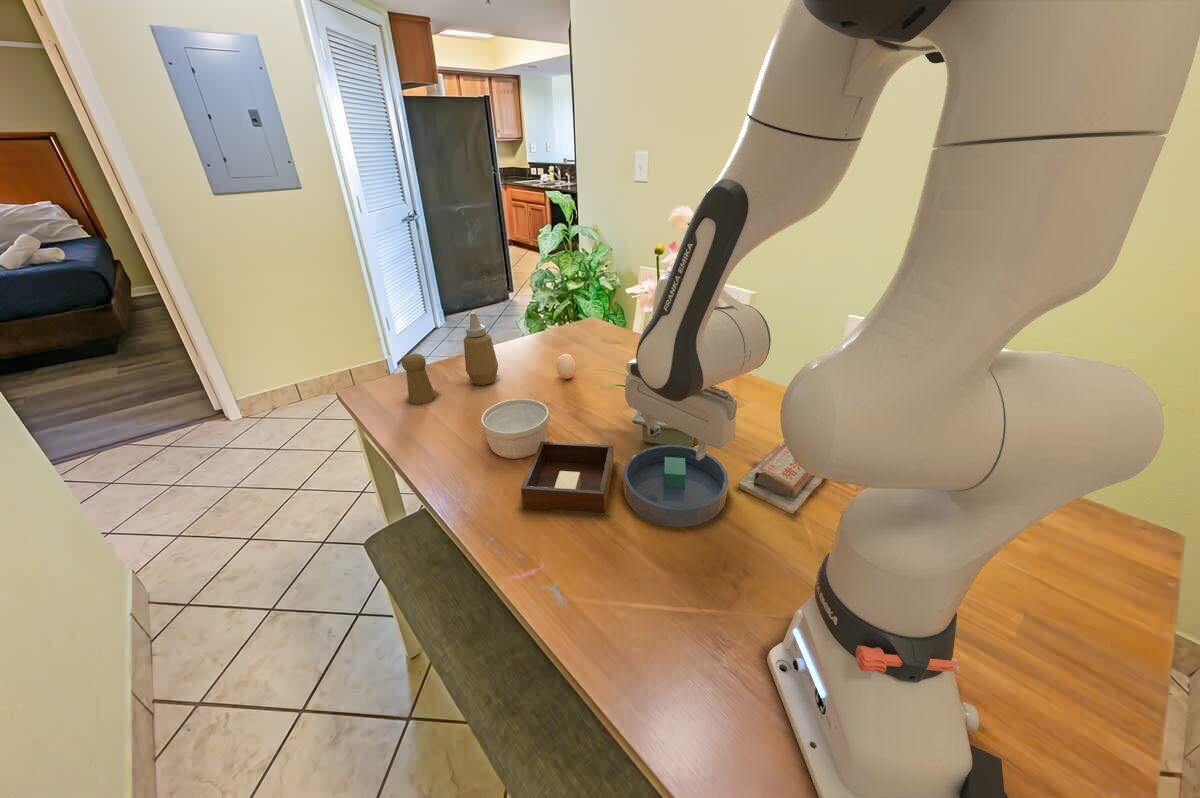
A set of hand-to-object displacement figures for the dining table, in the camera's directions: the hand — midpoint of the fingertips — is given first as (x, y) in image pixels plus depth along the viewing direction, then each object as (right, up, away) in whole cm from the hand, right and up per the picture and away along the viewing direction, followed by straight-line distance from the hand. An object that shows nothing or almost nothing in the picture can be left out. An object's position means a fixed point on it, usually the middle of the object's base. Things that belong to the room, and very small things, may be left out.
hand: (675, 445), depth 80 cm
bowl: (0, -8, +1) cm, 8 cm away
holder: (-18, -7, +3) cm, 20 cm away
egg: (-21, +13, +41) cm, 48 cm away
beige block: (-18, -8, +1) cm, 20 cm away
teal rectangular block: (0, -6, +3) cm, 7 cm away
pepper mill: (-56, +8, +34) cm, 66 cm away
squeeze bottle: (-42, +13, +41) cm, 60 cm away
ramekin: (-29, -1, +15) cm, 33 cm away
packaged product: (+21, -6, +4) cm, 22 cm away
